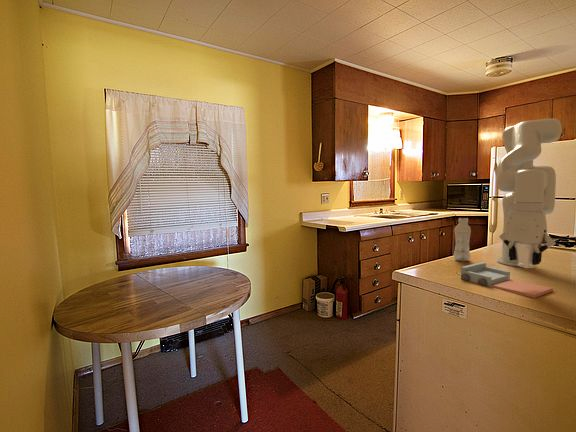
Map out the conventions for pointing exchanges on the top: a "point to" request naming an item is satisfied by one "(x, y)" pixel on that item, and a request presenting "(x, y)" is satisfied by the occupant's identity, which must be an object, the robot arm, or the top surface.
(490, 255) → the top surface
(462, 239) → the plastic bottle
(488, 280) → the flatbed
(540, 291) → the plate
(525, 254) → the cup
